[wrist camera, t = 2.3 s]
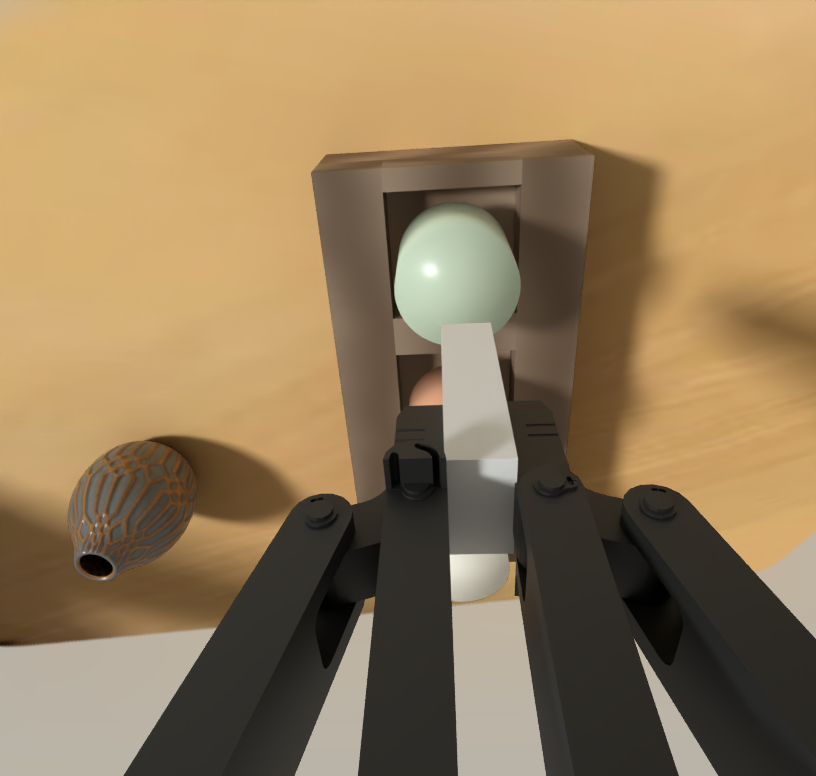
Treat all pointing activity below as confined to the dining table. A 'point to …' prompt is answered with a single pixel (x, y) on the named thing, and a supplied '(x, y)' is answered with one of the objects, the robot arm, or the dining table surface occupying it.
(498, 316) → the button sage
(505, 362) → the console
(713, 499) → the dining table surface
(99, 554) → the vase
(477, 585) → the button cream
